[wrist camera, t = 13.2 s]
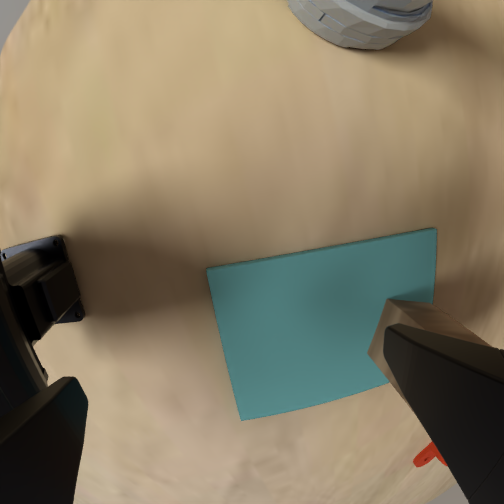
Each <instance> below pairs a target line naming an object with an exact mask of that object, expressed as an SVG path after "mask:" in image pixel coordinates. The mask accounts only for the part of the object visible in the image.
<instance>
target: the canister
mask: <svg viewBox="0 0 504 504" xmlns="http://www.w3.org/2000/svg"><path fill="white" fill-rule="evenodd" d="M432 2H433V0H288V3H289V5H288V6H289V8H290V9H291V11H292V12H293V14H294V15H295V16H296V17H297V18H298V19H299V20H300V21H301V22H302V23H303V24H304V25H305V26H306V27H308V28H309V29H310V30H311V31H312V32H314V33H316V34H317V35H319V36H320V37H322V38H324V39H325V40H328V41H330V42H332V43H334V44H336V45H339V46H342V47H345V48H346V47H353V48H360V49H375V50H379V49H383V48H385V47H387V46H389V45H391V44H393V43H394V42H396V41H397V40H399V39H400V38H402V37H404V36H405V35H408V34H410V33H412V32H413V31H415V30H417V29H419V28H420V27H421V26H422V25H423V24H424V23H425V22H426V21H427V20H428V19H430V17H431V11H432V6H433V5H432Z"/></svg>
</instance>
